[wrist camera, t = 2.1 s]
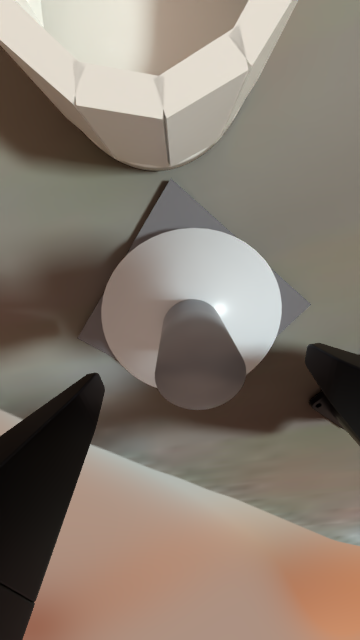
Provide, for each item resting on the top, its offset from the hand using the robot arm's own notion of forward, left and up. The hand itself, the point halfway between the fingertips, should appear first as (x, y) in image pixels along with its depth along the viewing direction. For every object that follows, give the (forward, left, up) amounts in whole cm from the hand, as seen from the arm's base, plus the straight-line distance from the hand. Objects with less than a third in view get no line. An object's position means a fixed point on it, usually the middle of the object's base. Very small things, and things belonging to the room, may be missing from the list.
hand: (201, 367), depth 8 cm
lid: (0, 0, -5) cm, 5 cm away
